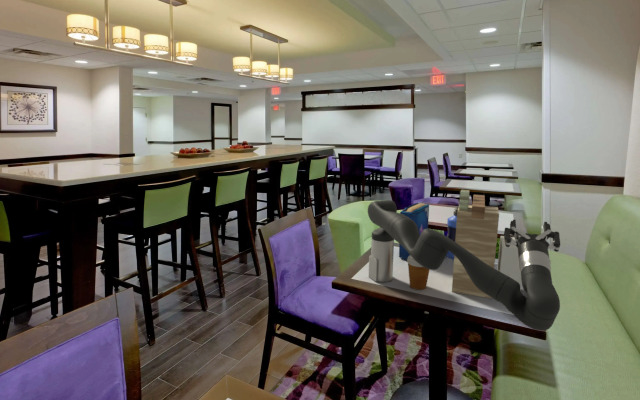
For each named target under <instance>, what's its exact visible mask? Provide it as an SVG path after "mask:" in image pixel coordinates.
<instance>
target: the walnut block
mask: <svg viewBox="0 0 640 400" xmlns="http://www.w3.org/2000/svg"><path fill="white" fill-rule="evenodd" d="M472 197H473V198H472V215H471V218H477V219H484V213H485V206H486V203H485V202H486V199H485V197H486V196H485V194H473V196H472Z"/></svg>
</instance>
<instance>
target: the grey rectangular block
mask: <svg viewBox="0 0 640 400" xmlns="http://www.w3.org/2000/svg"><path fill="white" fill-rule="evenodd" d="M511 237H512V239H513V240H514V241H516V240H515V238H514V237H513V236H511ZM498 249H499V250H498V258H497V268H496V270H498V271H500V272H501V273H503V274H505V275H507V276H509V277H510V278H512V279H514V280H516V281H517V282H518V283H519V284H520V288H521V286H522V280H521V271H520V268H519V257H518V248H517V246H516V245H510V247H506V246H505V239H504V235H500V237H499V248H498Z"/></svg>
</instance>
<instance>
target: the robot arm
mask: <svg viewBox="0 0 640 400" xmlns="http://www.w3.org/2000/svg"><path fill="white" fill-rule="evenodd" d="M367 215H368V218H369V220H370V221H371V222H372V223H373V224H374V225H376V226H377V227H378V228H376V229H374V230H373V231H372V232H371V242H370V243H371V246H370V247H371V249H370V250H371V252H370V255H369V256H368V277H369V278H370V279H371V280H373V281H374V282H375V283H376V282H379V283H382V282H383V283H386V282H390V281H392V280H393V278H394V275H393V273H394V254H395V253H394V252H395V251H394V250H395V241H396V242H397V243H398V244H401V245H402V246H403V247H404V248H405V249H406V251H407V252H408V253H409V254H410V255H411V257H412V258H413V259H414V260H415V261H416V262H417V263H419V264H420V265H421V266H423V267H425V268H427V269H430V270H429V271H437V270H438V269H439V268H440V267H441V265H442V264H443V262H444V260H445V259H446V258H447V257H446V255H447V253H448V251H450V252H451V253H453V254H454V255H455V256H456V257H457V258H458V259H459V261H460V262H461V264H462V265H463V267H464V268H465V270H466V272H467V274H468V275H469V277H470V279H471V280H472V282H473V283H474V285H475V286H476V287H477V288H478V289H479V290H481V291H482V292H484V293H485V294H487V295H489V296H490V297H492V298H491V299H493V300H495V301H497V302H499V303H500V304H502V305H503V306H504V307H505V308H506V309H507V310H508V311H509V312H510V313H511V314H513V316H515V318H516V319H518V320H519V322H521V323H522V324H523V325H525V326H526V327H528V328H530V329H533V330H536V331H539V332H540V331H541V332H542V331H543V332H544V331H548V330H549V329H551V327H553V324H554V322H555V320H556V318H557V316H558V314H559V312H560V309H561V300H560V296H559V295H558V292H557V290H556V288H555V286H554V285H553V281H552V280H553V279H552V270H551V269H552V267H551V259H550V254H549V249H550V250H553V251H554V252H556V253H557V252H559V250H560V247H561V239H560V238H561V237H560V232H559V231H552V229H551V225H550V223H548V221H544V223H543V226H542V227H543V231H542V233H541V234H537V233H528V232H527V233H525V232H523V231H522V230H520V229H518V228H517V221H516V219H512V220H511V221H510V222H509V223H510V224H509V227H504V231H503V236H504V239H505V246H506V247H510V245H516V246H517V248H518V257H519V268H520V271H521V286H522V288H523V291H524V292H525V294H526V296H525V295H523V293H522V291H521V288H520V284H519V283H518V282H517V281H516V280H514V279H512V278H510V277H509V276H507V275H505V274H503V273H501V272H500V271H498V270H497V268H496V269H495V267H494V268H492V267H491V266H489V265H487V264H486V263H484V262H483V261H481V260H480V259H479V258H477V257H476V256H474V255H473V254H472V253H470V252H469V251H467V250H466V249H465V248H463V247H462V246H460V245H459V244H457V243H456V242H454V241H453V240H451V239H450V238H448V237H447V235H445V234H443V233H442V232H439V231H437V230H434V229H431V228H428V229H424V230H423V232H422V233H421V235H420V236H419V231H418V227H417V225H416V223H415V222H414V221H413V220H411V219H410V218H409V217H407V216H405V215H403V214H400V212H397V205H396V203H395V201H394V200H374V201H372V202H370V203H369V205H368V207H367ZM512 237H514V238H515V240H516V241H514V240H513V239H512ZM550 238H551V239H552V241H551V243H549V242H548V240H549V239H550Z"/></svg>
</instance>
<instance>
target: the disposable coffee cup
mask: <svg viewBox="0 0 640 400" xmlns="http://www.w3.org/2000/svg"><path fill="white" fill-rule="evenodd" d="M406 262H407V266H408V277H409V287H410V288H411V289H413V290H420V291H421V290H425V289H426V288H427V285H428V278H429V273H430V271H431V270H430V269H427V268H425V267H423V266H421V265H420V264H419V263H417V262H416V261H415V260H414V259H413V258H412V257H411V255H410V256H409V257H408V259H407V260H406Z"/></svg>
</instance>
